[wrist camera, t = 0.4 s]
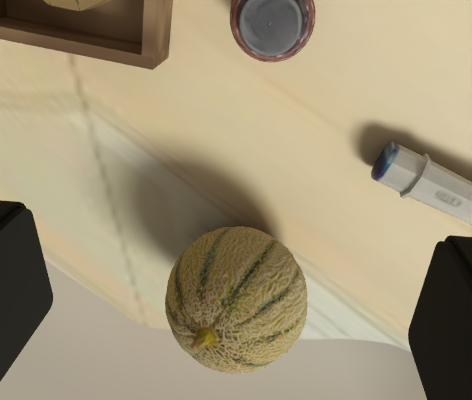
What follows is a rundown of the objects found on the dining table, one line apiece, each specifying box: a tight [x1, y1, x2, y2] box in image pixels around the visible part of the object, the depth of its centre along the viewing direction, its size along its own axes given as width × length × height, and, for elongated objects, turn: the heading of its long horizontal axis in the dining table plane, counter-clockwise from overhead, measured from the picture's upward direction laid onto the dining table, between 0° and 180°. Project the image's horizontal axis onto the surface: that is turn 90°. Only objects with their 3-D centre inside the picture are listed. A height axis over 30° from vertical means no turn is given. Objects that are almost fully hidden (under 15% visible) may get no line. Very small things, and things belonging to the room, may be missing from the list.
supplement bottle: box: [230, 0, 315, 62], centre depth 31 cm, size 6×6×11 cm
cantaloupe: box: [165, 226, 307, 374], centre depth 43 cm, size 15×15×15 cm
